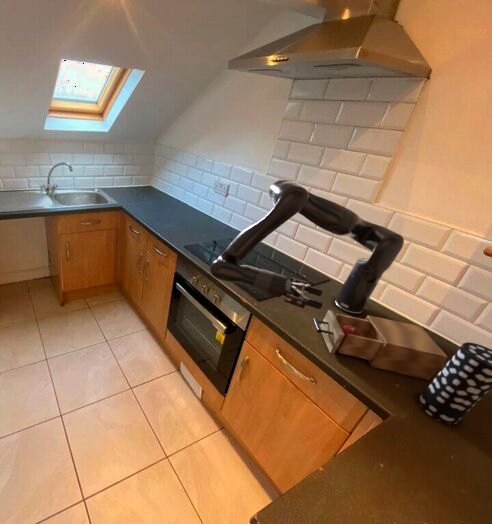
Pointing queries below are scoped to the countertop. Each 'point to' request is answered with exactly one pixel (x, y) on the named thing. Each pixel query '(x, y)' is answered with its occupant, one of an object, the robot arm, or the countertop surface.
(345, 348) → the drawer
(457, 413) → the white-spotted black cylinder
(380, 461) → the countertop surface
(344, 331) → the onion
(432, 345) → the cabinet
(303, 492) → the countertop surface
